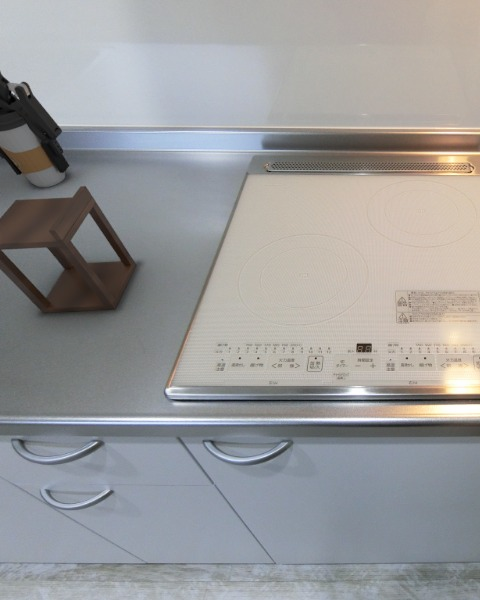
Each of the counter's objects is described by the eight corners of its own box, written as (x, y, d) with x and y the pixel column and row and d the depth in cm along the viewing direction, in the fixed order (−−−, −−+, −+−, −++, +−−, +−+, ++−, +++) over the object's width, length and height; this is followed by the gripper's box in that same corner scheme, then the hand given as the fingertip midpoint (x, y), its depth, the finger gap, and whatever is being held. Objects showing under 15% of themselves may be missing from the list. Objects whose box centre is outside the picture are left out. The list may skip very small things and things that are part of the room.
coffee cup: (21, 180, 92) (-32, 109, 81) (63, 164, 96) (17, 95, 85) (35, 195, 88) (-19, 124, 77) (78, 178, 92) (32, 108, 81)
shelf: (43, 313, 68) (-34, 234, 56) (70, 268, 74) (7, 189, 62) (115, 309, 68) (54, 230, 56) (136, 264, 75) (86, 185, 63)
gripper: (-122, 61, 70) (-19, 182, 87) (11, 56, 71) (87, 178, 88) (-91, 44, 75) (1, 162, 92) (33, 40, 76) (101, 158, 93)
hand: (43, 169), depth 90 cm, fingers open, 8 cm apart
